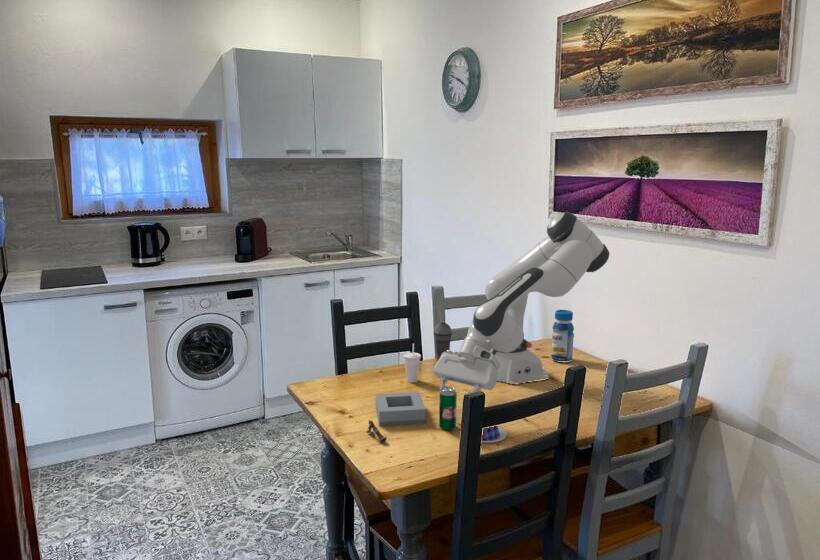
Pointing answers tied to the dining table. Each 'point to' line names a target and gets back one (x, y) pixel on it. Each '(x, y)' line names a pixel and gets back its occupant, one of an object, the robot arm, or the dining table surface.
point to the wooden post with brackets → (371, 424)
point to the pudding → (493, 434)
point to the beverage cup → (442, 338)
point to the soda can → (447, 408)
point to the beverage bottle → (562, 336)
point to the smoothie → (412, 365)
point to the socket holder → (400, 408)
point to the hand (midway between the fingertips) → (455, 395)
